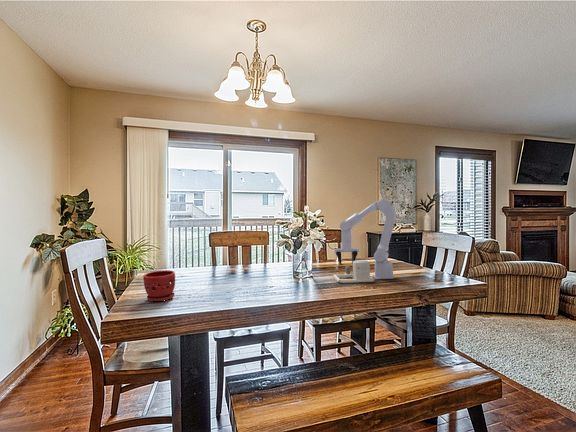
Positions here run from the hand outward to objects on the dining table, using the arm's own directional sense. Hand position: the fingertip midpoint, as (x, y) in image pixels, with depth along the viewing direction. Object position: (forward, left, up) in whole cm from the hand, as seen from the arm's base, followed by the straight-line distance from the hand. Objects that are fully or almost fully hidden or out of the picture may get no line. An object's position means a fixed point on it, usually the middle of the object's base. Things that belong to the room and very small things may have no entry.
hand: (346, 264), depth 192 cm
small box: (-4, +17, -6) cm, 18 cm away
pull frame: (0, +11, -6) cm, 12 cm away
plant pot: (+95, +40, -6) cm, 103 cm away
